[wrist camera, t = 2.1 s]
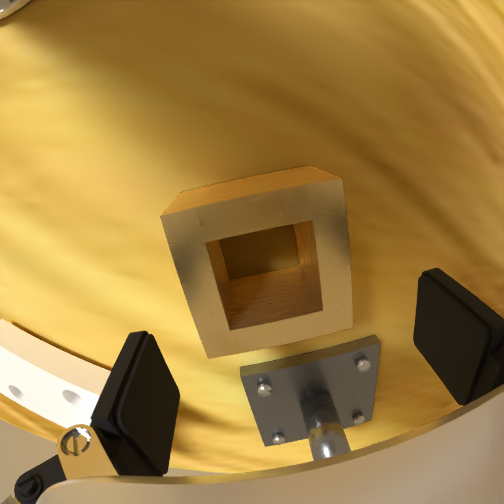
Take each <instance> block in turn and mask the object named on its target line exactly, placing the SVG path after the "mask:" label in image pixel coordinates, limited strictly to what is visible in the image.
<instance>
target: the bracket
mask: <svg viewBox="0 0 504 504" xmlns="http://www.w3.org/2000/svg"><path fill="white" fill-rule="evenodd" d="M110 373H111V371H109V370H106V369H104V368H101V367H99V366H96V365H94V364H91V363H89V362H87V361H84V360H82V359H80V358H77V357H75V356H73V355H71V354H69V353H66V352H64V351H62V350H60V349H58V348H56V347H54V346H52V345H50V344H48V343H46V342H44V341H42V340H40V339H38V338H36V337H34V336H32V335H30V334H28V333H26V332H25V331H23V330H21V329H19V328H17V327H16V326H14V325H12V324H10V323H9V322H7V321H5V320H4V319H2V320H1V321H0V393H2V394H4V395H5V396H7V397H8V398H10V399H12V400H13V401H15V402H17V403H19V404H20V405H22V406H24V407H26V408H27V409H29V410H31V411H33V412H35V413H37V414H39V415H41V416H42V417H44V418H46V419H48V420H50V421H53V422H55V423H57V424H59V425H61V426H63V427H65V428H69V427H71V426H74V425H77V424H85V425H88V426H90V423H91V421H92V420H91V419H90V417H91V415H92V413H93V410H94V408H95V406H96V404H97V401H98V399H99V397H100V394H101V392H102V390H103V388H104V386H105V383H106V381H107V379H108V377H109V375H110Z"/></svg>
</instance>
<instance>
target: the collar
mask: <svg viewBox="0 0 504 504" xmlns="http://www.w3.org/2000/svg"><path fill="white" fill-rule="evenodd" d="M160 217H161V221H162V224H163V227H164V231H165V234H166V238H167V241H168V244H169V248H170V251H171V254H172V257H173V260H174V264H175V267H176V270H177V273H178V276H179V279H180V282H181V285H182V288H183V291H184V294H185V297H186V300H187V303H188V306H189V308H190V311H191V314H192V317H193V320H194V322H195V325H196V328H197V331H198V333H199V336H200V339H201V341H202V344H203V347H204V349H205V352H206V355H207V357H208V359H209V358H216V357H222V356H227V355H233V354H239V353H244V352H249V351H255V350H260V349H265V348H270V347H274V346H279V345H284V344H288V343H293V342H297V341H301V340H306V339H310V338H314V337H318V336H322V335H326V334H330V333H334V332H338V331H341V330H345V329H349V328H352V327H353V302H352V278H351V261H350V247H349V235H348V223H347V213H346V204H345V195H344V187H343V179H342V178H341V177H338V176H336V175H333V174H331V173H328V172H325V171H323V170H320V169H318V168H315V167H312V166H310V165H309V166H304V167H298V168H292V169H287V170H281V171H276V172H270V173H265V174H260V175H255V176H250V177H245V178H241V179H236V180H231V181H227V182H222V183H218V184H213V185H209V186H205V187H200V188H196V189H192V190H188V191H184V192H181V193H180V194H179V195H178V196H177V197H176V198H175V199H174V201H173V202H172V203H171V204H170V205H169V206H168V208H167V209H166V210H165V211H164V212H163V213H162V215H161V216H160ZM290 224H294V230H295V236H296V243H297V250H298V256H299V263H300V265H298V266H293V267H288V268H284V269H279V270H275V271H270V272H265V273H260V274H256V275H251V276H246V277H241V278H237V279H232V280H229V277H228V273H227V269H226V265H225V261H224V257H223V253H222V249H221V245H220V241H219V239H223V238H228V237H232V236H237V235H242V234H246V233H251V232H256V231H261V230H265V229H270V228H275V227H280V226H285V225H290Z"/></svg>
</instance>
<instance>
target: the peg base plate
mask: <svg viewBox="0 0 504 504" xmlns="http://www.w3.org/2000/svg"><path fill="white" fill-rule="evenodd" d="M379 350H380V342H379V340H378V339H377V337H376V336H375V335H372V336H369V337H365V338H362V339H359V340H355V341H352V342H348V343H344V344H341V345H337V346H333V347H330V348H326V349H322V350H318V351H314V352H310V353H306V354H301V355H297V356H293V357H288V358H284V359H279V360H274V361H269V362H264V363H259V364H254V365H249V366H243V367H240V377H241V380H242V383H243V386H244V389H245V392H246V395H247V398H248V401H249V403H250V406H251V409H252V412H253V415H254V418H255V421H256V423H257V426H258V429H259V432H260V434H261V437H262V440H263V443H264V445H265V447H266V446H272V445H280V444H283V443H288V442H293V441H297V440H302V439H306V438H308V439H309V443H310V447H311V451H312V455H313V459H314V461H316V460H321V459H325V458H329V457H333V456H337V455H340V454H344V453H348V452H351V450H350V447H349V444H348V441H347V438H346V435H345V433H344V430H343V429H345V428H348V427H351V426H355V425H359V424H362V423H364V422H367V421H370V420H371V418H372V411H373V405H374V397H375V390H376V381H377V372H378V362H379Z"/></svg>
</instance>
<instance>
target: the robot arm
mask: <svg viewBox="0 0 504 504" xmlns="http://www.w3.org/2000/svg"><path fill="white" fill-rule="evenodd" d="M29 1H31V0H0V20H1V19H3V18H5V17H7V16H9V15H11V14H12V13H14V12H15V11H17V10H18V9H20V8H21V7H23V6H24V5H25V4H27V3H28V2H29ZM413 340H414V344H415V346H416V347H417V349H418V350H419V351H420V353H421V354H422V355H423V357H424V358H425V359H426V360H427V362H428V363H429V364H430V366H431V367H432V368H433V370H434V371H435V372H436V374H437V375H438V377H439V378H440V379H441V381H442V382H443V383H444V385H445V386H446V388H447V389H448V390H449V392H450V393H451V394H452V396H453V397H454V399H455V400H456V402H457V403H458V404H459V405H463V407H461V408H460V409H458V410H456V411H454V412H452V413H450V414H448V415H446V416H443V417H441V418H439V419H437V420H435V421H433V422H430V423H428V424H426V425H424V426H421V427H419V428H416V429H414V430H412V431H409V432H407V433H404V434H401V435H399V436H396V437H393V438H391V439H388V440H385V441H382V442H380V443H377V444H374V445H371V446H367V447H364V448H361V449H358V450H354V451H351V452H348V453H344V454H340V455H337V456H333V457H329V458H325V459H321V460H316V461H312V462H307V463H302V464H297V465H292V466H287V467H281V468H275V469H269V470H262V471H254V472H246V473H237V474H225V475H210V476H187V477H186V476H184V477H163V474H166V473H167V472H168V466H169V460H170V453H171V447H172V441H173V435H174V429H175V423H176V417H177V411H178V406H179V400H180V393H179V389H178V387H177V385H176V383H175V381H174V379H173V377H172V375H171V373H170V371H169V368H168V366H167V364H166V362H165V360H164V358H163V356H162V353H161V351H160V349H159V347H158V345H157V342H156V340H155V338H154V336H153V335H152V334H148V332H147V331H139V332H132V333H130V334H129V335H128V337H127V339H126V341H125V343H124V345H123V347H122V349H121V352H120V354H119V356H118V358H117V360H116V362H115V364H114V366H113V368H112V370H111V373H110V375H109V377H108V379H107V381H106V383H105V386H104V388H103V390H102V392H101V394H100V397H99V399H98V401H97V404H96V406H95V408H94V410H93V413H92V415H91V417H90V419H91V420H92V421H91V423H90V426H88V425H85V424H77V425H74V426H71V427H69V428H68V429H66V430H65V431H64V432H63V433H62V434H61V435H60V437H59V438H58V440H57V445H56V447H57V453H58V454H57V455H55V456H54V457H52V458H50V459H49V460H47V461H45V462H43V463H42V464H40V465H38V466H36V467H34V468H33V469H31V470H29V471H27V472H25V473H24V474H22V475H21V476H20V477H19V479H18V480H17V482H16V484H15V488H14V492H15V497H13V496H12V495H10V496H9V497H8V498H7V499H6V500H5V501H3V502H2V504H504V319H503V318H502V317H501V316H500V315H498V314H497V313H496V312H495V311H494V310H492V309H491V308H490V307H489V306H487V305H486V304H485V303H484V302H482V301H481V300H480V299H479V298H477V297H476V296H475V295H474V294H472V293H471V292H470V291H468V290H467V289H466V288H465V287H463V286H462V285H461V284H459V283H458V282H457V281H455V280H454V279H453V278H451V277H450V276H449V275H447V274H446V273H445V272H443V271H442V270H440V269H439V268H433V269H430V270H427V271H424V272H423V273H422V275H421V276H420V277H419V279H418V293H417V306H416V317H415V327H414V336H413Z"/></svg>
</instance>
